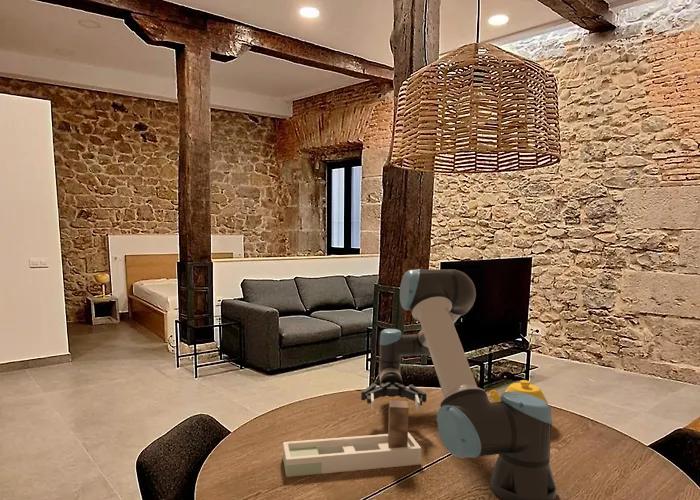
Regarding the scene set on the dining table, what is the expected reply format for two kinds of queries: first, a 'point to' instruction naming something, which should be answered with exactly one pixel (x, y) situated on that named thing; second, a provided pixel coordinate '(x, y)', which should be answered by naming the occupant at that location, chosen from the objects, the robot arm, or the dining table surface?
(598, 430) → the dining table surface
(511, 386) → the teapot
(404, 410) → the walnut block
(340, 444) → the tray
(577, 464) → the dining table surface
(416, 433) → the dining table surface
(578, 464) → the dining table surface
